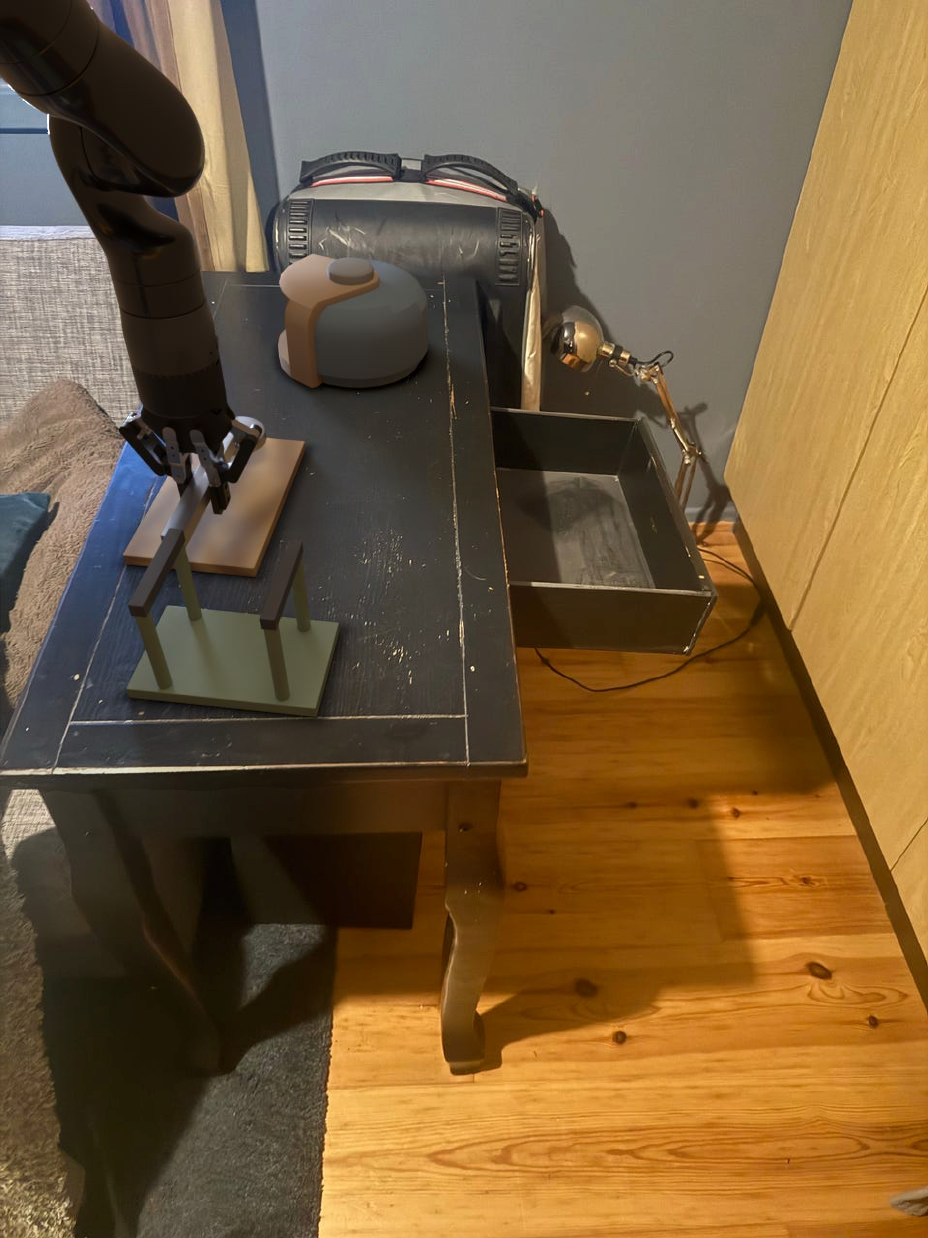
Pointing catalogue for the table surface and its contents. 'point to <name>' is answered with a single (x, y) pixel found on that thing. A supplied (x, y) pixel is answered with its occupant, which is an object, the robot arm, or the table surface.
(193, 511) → the ladle
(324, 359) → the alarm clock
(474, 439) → the table surface
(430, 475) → the table surface
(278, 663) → the rack
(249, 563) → the board
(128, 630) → the table surface
